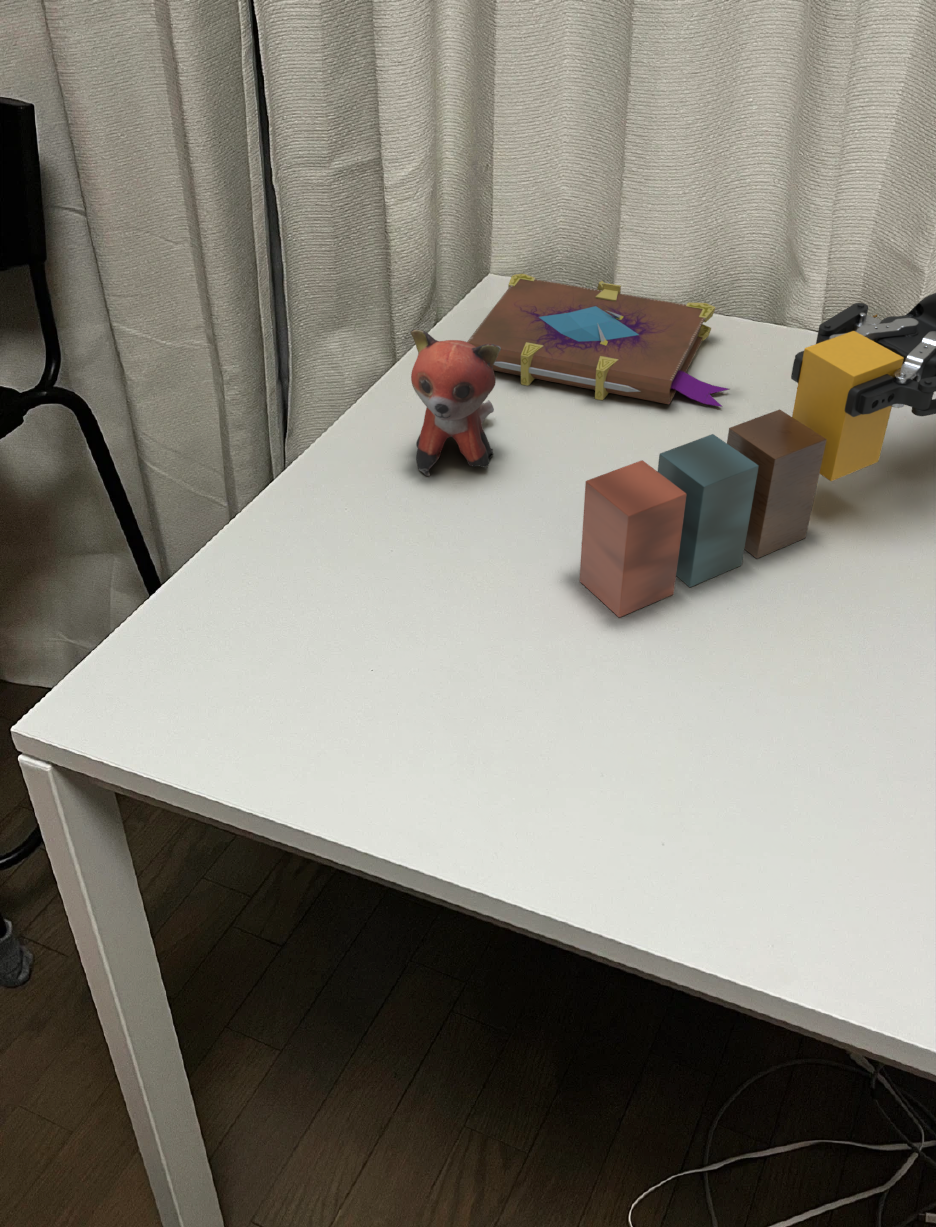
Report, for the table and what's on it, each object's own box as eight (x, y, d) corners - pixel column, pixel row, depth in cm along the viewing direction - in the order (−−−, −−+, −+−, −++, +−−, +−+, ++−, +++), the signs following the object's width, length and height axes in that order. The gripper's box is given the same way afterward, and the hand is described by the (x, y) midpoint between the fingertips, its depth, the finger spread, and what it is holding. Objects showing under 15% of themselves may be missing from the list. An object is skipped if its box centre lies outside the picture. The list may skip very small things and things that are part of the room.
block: (832, 432, 96) (853, 330, 90) (878, 461, 92) (904, 357, 87) (785, 451, 94) (804, 347, 88) (830, 481, 91) (853, 376, 85)
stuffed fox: (520, 421, 106) (522, 296, 99) (492, 492, 98) (492, 361, 90) (438, 412, 108) (433, 287, 100) (404, 481, 99) (396, 351, 92)
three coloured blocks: (762, 506, 96) (779, 408, 90) (805, 538, 93) (827, 438, 87) (578, 581, 89) (585, 480, 83) (619, 618, 86) (628, 516, 80)
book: (715, 430, 106) (721, 382, 103) (459, 379, 114) (457, 332, 110) (756, 339, 117) (763, 293, 114) (520, 298, 125) (520, 254, 121)
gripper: (923, 249, 96) (763, 301, 90) (1075, 318, 87) (907, 383, 80) (903, 334, 101) (749, 389, 95) (1044, 408, 92) (884, 476, 85)
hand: (823, 386), depth 88 cm, fingers closed on block, 5 cm apart
